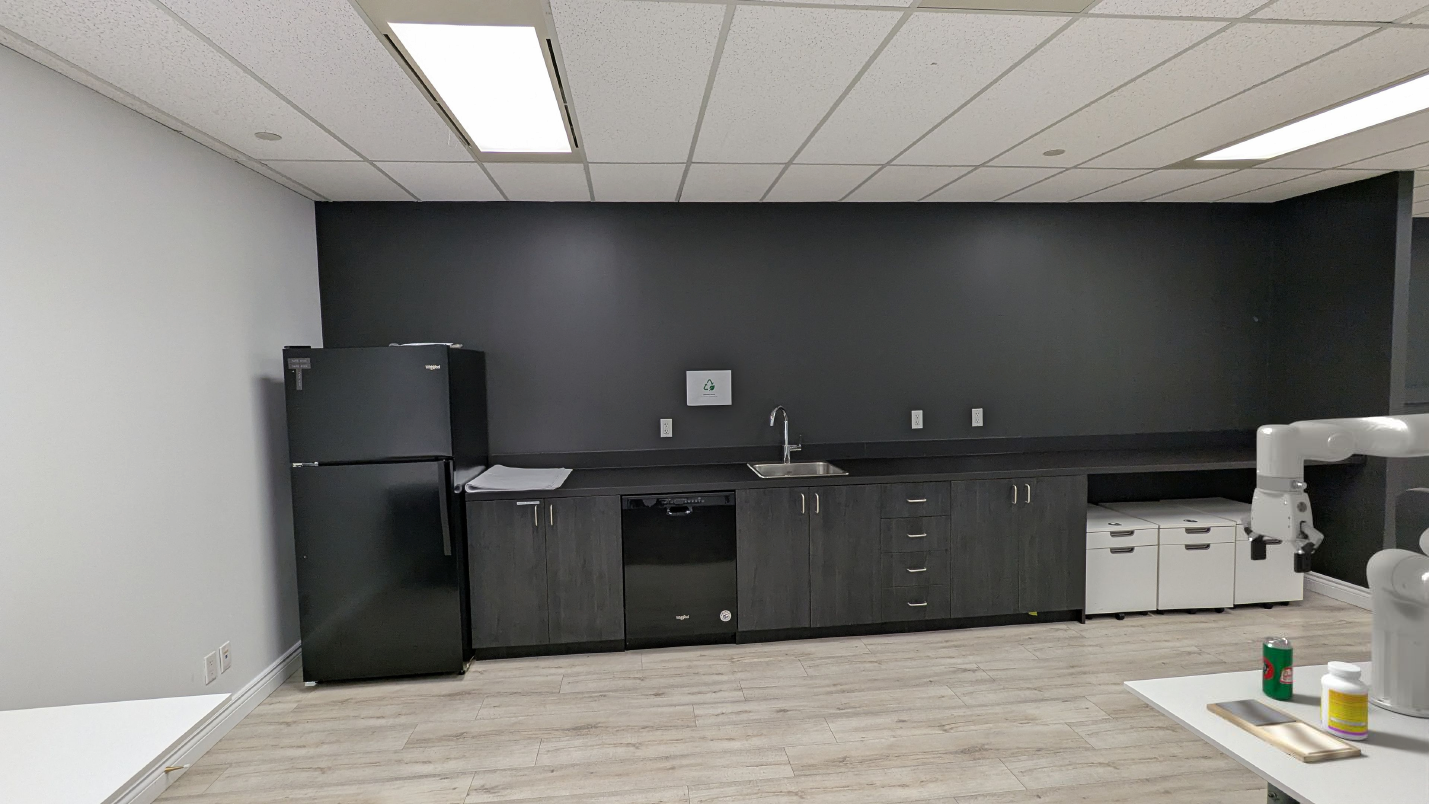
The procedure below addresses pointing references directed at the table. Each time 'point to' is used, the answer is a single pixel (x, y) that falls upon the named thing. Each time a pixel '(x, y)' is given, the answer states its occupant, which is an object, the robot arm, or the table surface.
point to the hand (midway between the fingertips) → (1279, 565)
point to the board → (1283, 730)
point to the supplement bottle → (1344, 702)
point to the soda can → (1277, 668)
